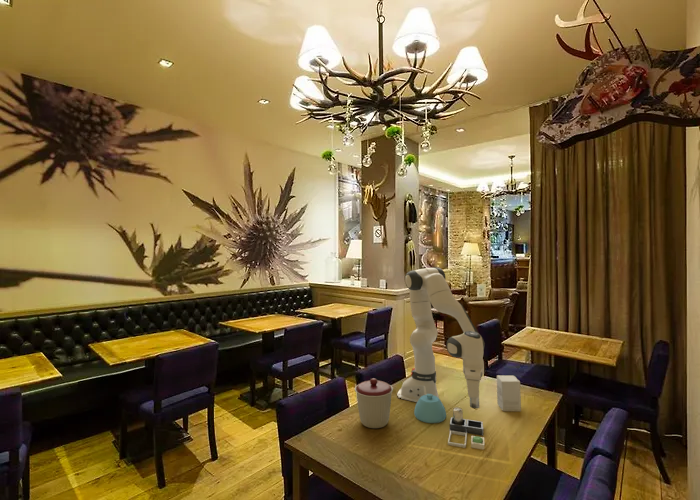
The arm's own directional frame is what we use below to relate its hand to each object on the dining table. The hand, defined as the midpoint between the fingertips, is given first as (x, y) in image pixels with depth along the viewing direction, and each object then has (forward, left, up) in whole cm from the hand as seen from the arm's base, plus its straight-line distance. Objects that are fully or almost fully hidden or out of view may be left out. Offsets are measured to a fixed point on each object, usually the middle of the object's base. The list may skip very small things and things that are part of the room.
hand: (474, 400), depth 156 cm
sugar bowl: (-21, +7, -15) cm, 26 cm away
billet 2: (0, 0, -3) cm, 3 cm away
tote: (-7, -11, -14) cm, 19 cm away
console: (+1, -12, -14) cm, 19 cm away
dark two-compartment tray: (-4, 0, -14) cm, 15 cm away
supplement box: (+15, +31, -15) cm, 38 cm away
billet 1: (-7, 0, -13) cm, 15 cm away
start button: (+1, -12, -13) cm, 18 cm away
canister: (-45, -6, -15) cm, 47 cm away
